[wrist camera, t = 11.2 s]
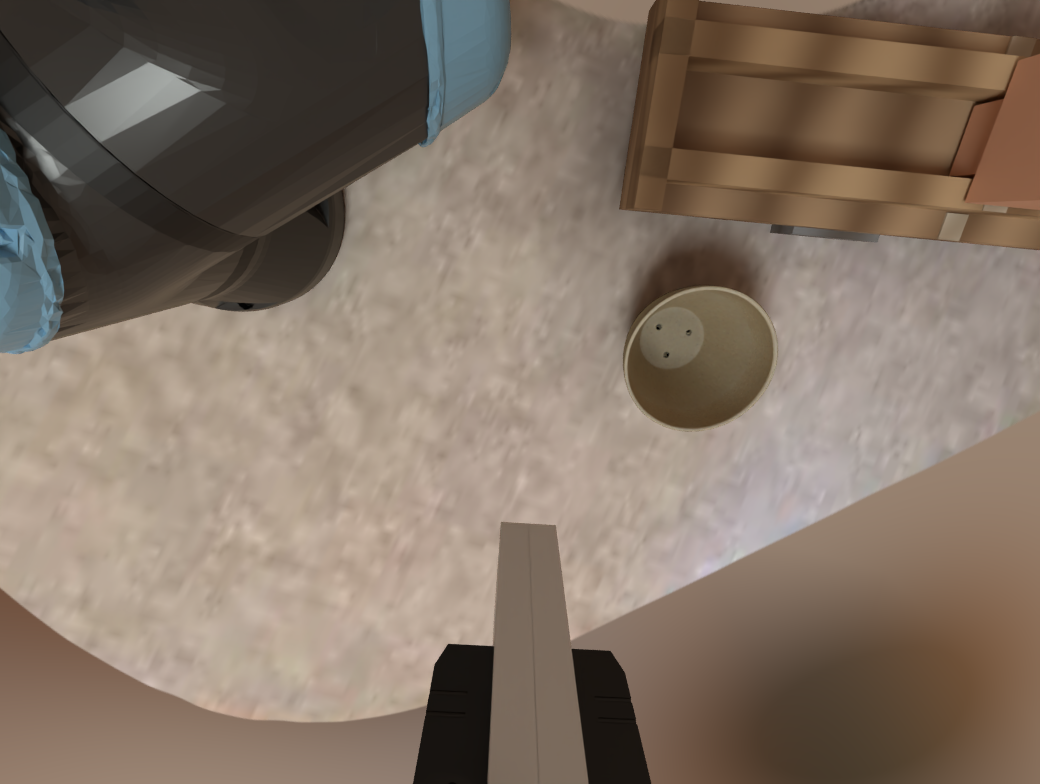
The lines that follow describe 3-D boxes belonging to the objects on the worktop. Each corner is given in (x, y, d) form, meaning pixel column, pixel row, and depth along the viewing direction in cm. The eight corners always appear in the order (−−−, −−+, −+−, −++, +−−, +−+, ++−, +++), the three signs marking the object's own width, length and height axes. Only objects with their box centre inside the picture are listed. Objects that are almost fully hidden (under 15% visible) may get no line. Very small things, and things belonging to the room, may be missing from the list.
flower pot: (652, 248, 36) (683, 256, 29) (757, 313, 38) (810, 334, 31) (582, 360, 39) (596, 391, 32) (683, 415, 41) (715, 455, 34)
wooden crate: (609, 217, 35) (633, 217, 28) (638, 20, 31) (674, -38, 24) (1003, 255, 36) (1121, 264, 29) (1081, 69, 32) (1240, 28, 25)
